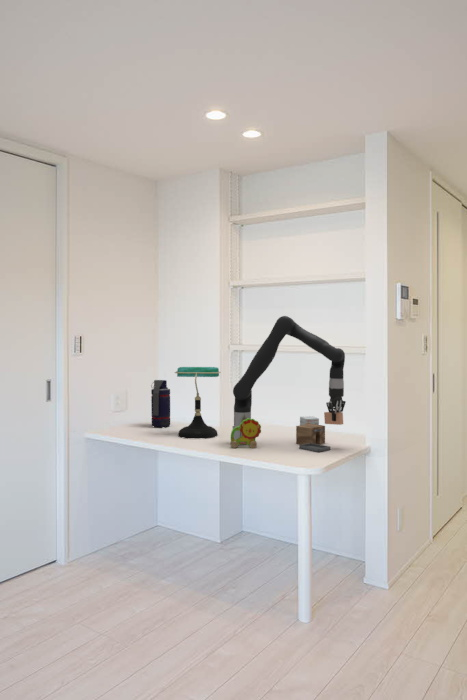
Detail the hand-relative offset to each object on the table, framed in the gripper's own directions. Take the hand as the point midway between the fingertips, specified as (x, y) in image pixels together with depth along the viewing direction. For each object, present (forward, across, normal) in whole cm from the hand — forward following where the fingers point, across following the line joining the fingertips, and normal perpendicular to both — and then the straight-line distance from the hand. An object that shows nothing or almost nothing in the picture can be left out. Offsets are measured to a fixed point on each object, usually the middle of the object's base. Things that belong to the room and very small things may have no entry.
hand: (335, 420), depth 295 cm
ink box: (+15, -14, -30) cm, 36 cm away
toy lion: (+15, +32, -34) cm, 49 cm away
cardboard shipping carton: (+15, -2, -18) cm, 23 cm away
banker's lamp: (+16, +27, -79) cm, 85 cm away
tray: (+15, +10, -6) cm, 18 cm away
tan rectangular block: (+2, 0, -1) cm, 2 cm away
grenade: (+16, +25, -120) cm, 123 cm away
